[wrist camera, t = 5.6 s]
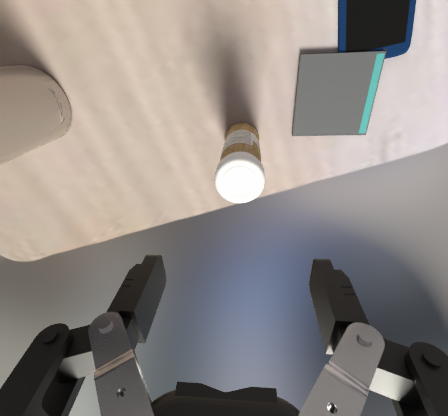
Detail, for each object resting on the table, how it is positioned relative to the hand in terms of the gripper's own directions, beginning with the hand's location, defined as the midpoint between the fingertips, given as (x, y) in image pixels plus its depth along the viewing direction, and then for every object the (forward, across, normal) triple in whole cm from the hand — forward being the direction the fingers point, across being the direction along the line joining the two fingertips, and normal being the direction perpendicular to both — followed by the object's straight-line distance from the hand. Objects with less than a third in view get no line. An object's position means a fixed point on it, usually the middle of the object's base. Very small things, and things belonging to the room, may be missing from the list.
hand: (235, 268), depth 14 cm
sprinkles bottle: (+24, 0, 0) cm, 24 cm away
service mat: (+24, -11, -5) cm, 27 cm away
